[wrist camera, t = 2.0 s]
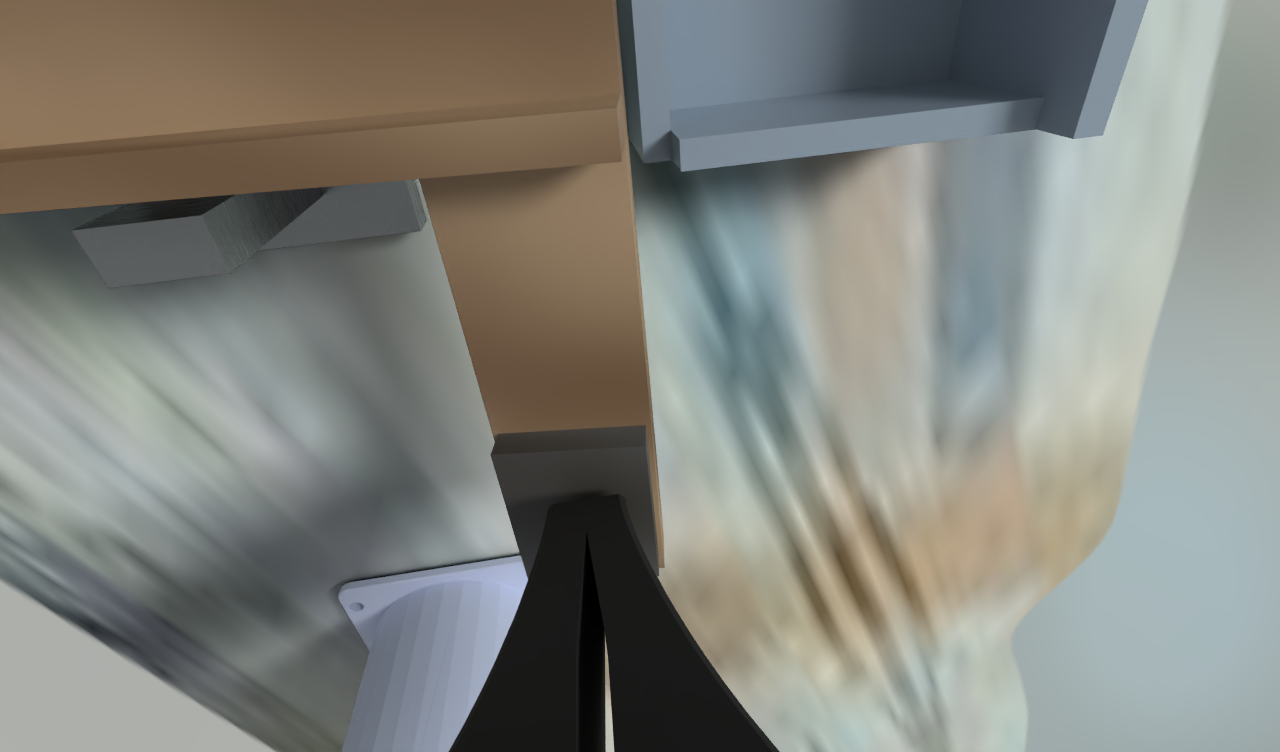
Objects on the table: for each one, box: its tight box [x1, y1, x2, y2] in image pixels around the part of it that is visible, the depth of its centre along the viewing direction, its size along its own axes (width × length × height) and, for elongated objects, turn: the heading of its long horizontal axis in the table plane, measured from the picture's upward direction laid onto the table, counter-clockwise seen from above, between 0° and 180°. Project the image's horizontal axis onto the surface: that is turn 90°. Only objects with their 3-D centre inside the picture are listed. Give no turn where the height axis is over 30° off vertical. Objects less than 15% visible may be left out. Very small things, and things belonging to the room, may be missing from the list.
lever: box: [0, 0, 664, 579], centre depth 9 cm, size 16×16×3 cm
